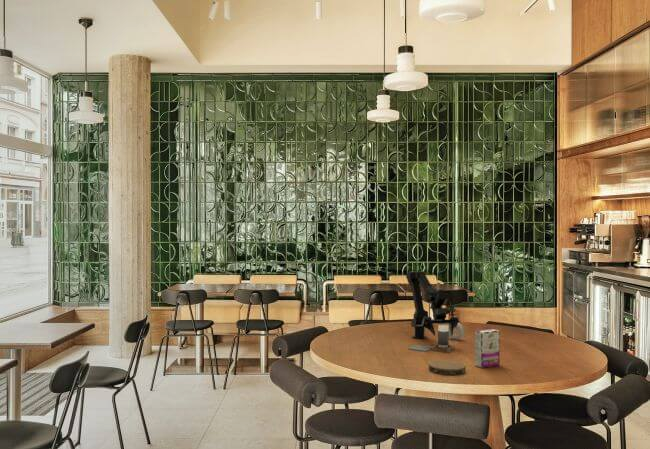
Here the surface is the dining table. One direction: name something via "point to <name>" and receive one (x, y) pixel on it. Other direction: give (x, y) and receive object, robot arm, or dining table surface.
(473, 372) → the dining table surface
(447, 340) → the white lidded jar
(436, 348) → the walnut collar
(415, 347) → the charcoal mat
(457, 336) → the donut
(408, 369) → the dining table surface
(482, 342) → the candy bar box
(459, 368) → the brown round disc
